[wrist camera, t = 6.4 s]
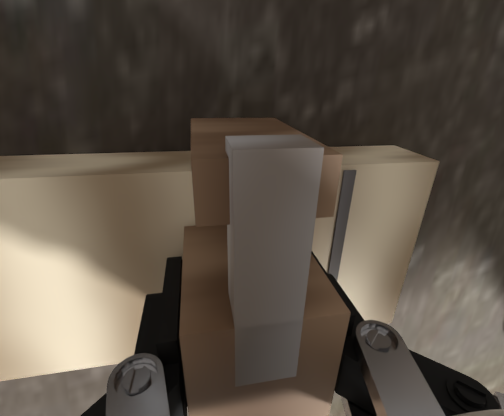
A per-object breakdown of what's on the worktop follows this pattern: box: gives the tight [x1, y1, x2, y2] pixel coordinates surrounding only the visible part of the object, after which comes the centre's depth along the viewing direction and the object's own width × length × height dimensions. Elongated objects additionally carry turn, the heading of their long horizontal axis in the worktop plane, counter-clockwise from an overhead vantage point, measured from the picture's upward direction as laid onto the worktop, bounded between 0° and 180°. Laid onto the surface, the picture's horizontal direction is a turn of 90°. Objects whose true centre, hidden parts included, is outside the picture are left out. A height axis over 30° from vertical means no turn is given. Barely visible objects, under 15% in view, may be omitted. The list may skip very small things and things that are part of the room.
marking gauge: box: [179, 118, 351, 416], centre depth 9 cm, size 4×9×6 cm, turn 179°
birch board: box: [0, 145, 440, 381], centre depth 13 cm, size 24×9×3 cm, turn 89°
